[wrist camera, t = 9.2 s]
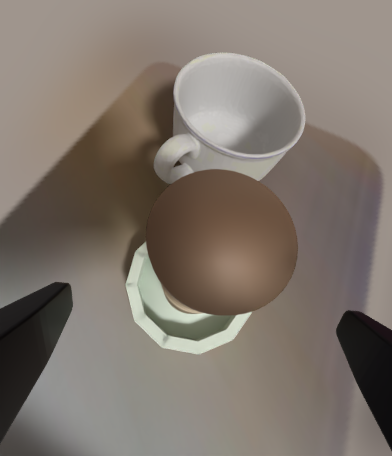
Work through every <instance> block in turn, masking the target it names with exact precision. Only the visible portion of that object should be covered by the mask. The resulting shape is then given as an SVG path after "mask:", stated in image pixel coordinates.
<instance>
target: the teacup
mask: <svg viewBox="0 0 392 456" xmlns="http://www.w3.org/2000/svg"><path fill="white" fill-rule="evenodd" d="M173 98H174V116H173V137H171V138H170V139H168V140H167V141H166V142H165V143H164V144H163V145H162V146H161V148H160V149H159V150H158V152H157V154H156V157H155V160H154V170H155V172H156V174H157V176H158V177H160V178H161V179H162V180H163V181H164V182H166V183H169V184H172V183H173V182H175V181H176V180H178V179H180V178H181V177H183V176H186V175H188V174H190V173H194V172H197V171H202V170H210V169H222V170H230V171H235V172H238V173H242V174H244V175H247V176H249V177H251V178H253V179H255V180H257V181H259V180H261V179H262V178H263V177H264V176H265V175H266V174H267V173H268V172H269V171H270V170H271V169H272V168H273V167H274V166H275V165H276V164H277V163H278V161H279V160H280V159H281V158H282V157H283V156H284V154H285V153H286V152H287V151H288V150H289V149H290V148H292V147H293V146H294V145H295V144H296V142H297V141H298V139H299V138H300V136H301V134H302V132H303V130H304V125H305V111H304V106H303V103H302V101H301V99H300V97H299V95H298V93H297V92H296V90H295V89H294V87H293V86H292V85H291V84H290V83H289V82H288V80H287V79H286V78H285V77H284V76H283V75H282V74H280V73H279V72H278V71H276V70H275V69H273V68H272V67H271V66H269V65H267V64H265V63H263V62H261V61H259V60H257V59H254V58H251V57H248V56H245V55H240V54H232V53H213V54H206V55H204V56H200V57H197V58H195V59H194V60H192V61H190V62H189V63H188V64H187V65H186V66H184V67H183V68H182V70H181V71H180V72H179V74H178V75H177V77H176V81H175V84H174V91H173ZM178 160H179V162H180V163H181V165H179V166H176V167H174V165H175V163H176V162H177V161H178Z"/></svg>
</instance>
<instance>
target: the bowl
mask: <svg viewBox="0 0 392 456" xmlns="http://www.w3.org/2000/svg"><path fill="white" fill-rule="evenodd" d="M125 286H126V289H127V293H128V297H129V301H130V305H131V309H132V313H133V317H134V321H135V322H136V323H137V324H138V325H139V326H140V327H141V328H142V329H143V330H144V331H145V332H146V333H147V334H148V335H149V336H150V337H152V338H153V339H154V340H155V341H156V342H157V343H158V344H159V345H160V346H161V347H162V348H167V349H173V350H178V351H183V352H188V353H194V354H198V355H200V354H201V353H204V352H206V351H208V350H211V349H213V348H215V347H218V346H220V345H222V344H225V343H227V342H229V341H231V340H234V338H235V336H236V335H237V333H238V332H239V330H240V329H241V327H242V326H243V325H244V323H245V322H246V320H247V319H248V317H249V316H250V314H251V313H252V312H249V313H246V314H240V315H211V314H206V313H201V314H186V313H182V312H180V311H178V310H176V309H175V308H173V307H172V306H171V305H170V304H169V302H168V301H167V299H166V297H165V295H164V292H163V289H162V285H161V283H160V281H159V280H158V278H157V276H156V274H155V272H154V270H153V267H152V264H151V262H150V259H149V256H148V251H147V246H146V242H145V243H144V244H143V245H142V246H141V247H140V248H139V249H137V250H136V251H135V255H134V258H133V262H132V265H131V268H130V272H129V275H128V279H127V282H126V285H125Z"/></svg>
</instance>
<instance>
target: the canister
mask: <svg viewBox="0 0 392 456" xmlns="http://www.w3.org/2000/svg"><path fill="white" fill-rule="evenodd" d="M146 246H147V251H148V256H149V259H150V262H151V264H152V267H153V270H154V272H155V274H156V276H157V278H158V280H159V281H160V283H161V285H162V289H163V292H164V295H165V297H166V299H167V301H168V302H169V304H170V305H171V306H172V307H173V308H175V309H176V310H178V311H180V312H182V313H186V314H201V313H206V314H211V315H240V314H246V313H249V312H252V311H255V310H257V309H259V308H261V307H263V306H265V305H267V304H268V303H270V302H271V301H273V300H274V299H275V298H276V297H277V296H278V295H279V294H280V293H281V292H282V291H283V289H284V288H285V287H286V286H287V284H288V282H289V280H290V279H291V277H292V274H293V272H294V269H295V266H296V261H297V253H298V243H297V235H296V230H295V227H294V224H293V221H292V219H291V217H290V215H289V213H288V211H287V209H286V208H285V206H284V205H283V203H282V202H281V201H280V199H279V198H278V197H277V196H276V195H275V194H274V193H273V192H272V191H271V190H270V189H268V188H267V187H266V186H265V185H263V184H262V183H260V182H259V181H257V180H255V179H253V178H251V177H249V176H247V175H244V174H242V173H238V172H235V171H230V170H222V169H210V170H202V171H197V172H194V173H190V174H188V175H186V176H183V177H181V178H180V179H178V180H176V181H175V182H173V183H172V184H171V185H170V186H168V187H167V188H166V189H165V190H164V191H163V192H162V193H161V195H160V196H159V197H158V199H157V200H156V202H155V204H154V205H153V207H152V209H151V212H150V215H149V217H148V222H147V227H146Z"/></svg>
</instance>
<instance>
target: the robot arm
mask: <svg viewBox="0 0 392 456" xmlns="http://www.w3.org/2000/svg"><path fill="white" fill-rule="evenodd" d="M72 307H73V301H72V291H71V286H70V284H69V283H62V282H55V283H52V284H50V285H48V286H46V287H44V288H42V289H40V290H38V291H36V292H34V293H32V294H30V295H28V296H26V297H23V298H21V299H19V300H17V301H15V302H13V303H11V304H9V305H7V306H5V307H3V308H1V309H0V443H1V441H2V440H3V438H4V436H5V435H6V433H7V431H8V429H9V428H10V426H11V424H12V423H13V421H14V419H15V417H16V416H17V414H18V412H19V411H20V409H21V407H22V406H23V404H24V402H25V400H26V399H27V397H28V395H29V394H30V392H31V390H32V388H33V387H34V385H35V383H36V382H37V380H38V378H39V376H40V375H41V373H42V371H43V370H44V368H45V366H46V364H47V362H48V361H49V358H50V356H51V354H52V352H53V350H54V348H55V346H56V344H57V342H58V339H59V337H60V335H61V333H62V331H63V329H64V326H65V324H66V322H67V320H68V318H69V316H70V313H71V311H72ZM336 334H337V337H338V339H339V342H340V344H341V347H342V349H343V351H344V354H345V356H346V359H347V361H348V363H349V366H350V368H351V371H352V373H353V375H354V378H355V380H356V382H357V384H358V386H359V388H360V390H361V393H362V394H363V396H364V398H365V400H366V402H367V404H368V406H369V408H370V410H371V412H372V414H373V416H374V418H375V420H376V422H377V424H378V425H379V427H380V429H381V431H382V433H383V435H384V437H385V439H386V441H387V443H388V445H389V447H390V449H391V451H392V330H391V329H389V328H387V327H386V326H384V325H382V324H380V323H379V322H377V321H375V320H374V319H372V318H370V317H369V316H367V315H365V314H364V313H362V312H359V311H351V310H348V311H346V312H345V313H344V314H343V316H342V318H341V320H340V322H339V324H338V326H337V328H336Z"/></svg>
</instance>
